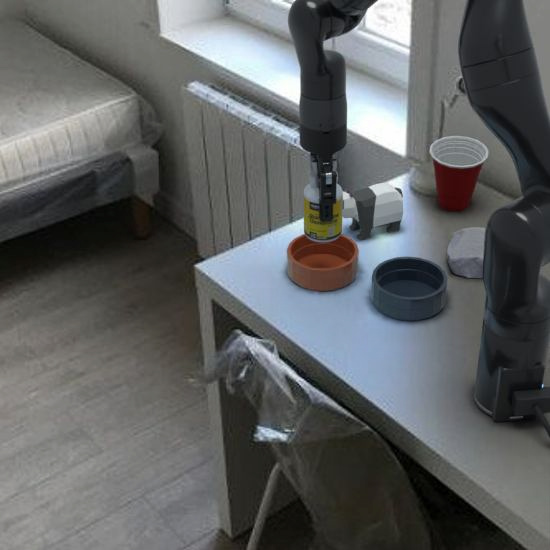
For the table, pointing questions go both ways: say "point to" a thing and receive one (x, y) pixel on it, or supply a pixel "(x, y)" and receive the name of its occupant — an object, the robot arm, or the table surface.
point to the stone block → (467, 252)
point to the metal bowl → (409, 288)
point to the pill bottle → (312, 223)
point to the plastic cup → (457, 170)
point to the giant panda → (373, 208)
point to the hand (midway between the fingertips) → (323, 209)
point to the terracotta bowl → (322, 262)
